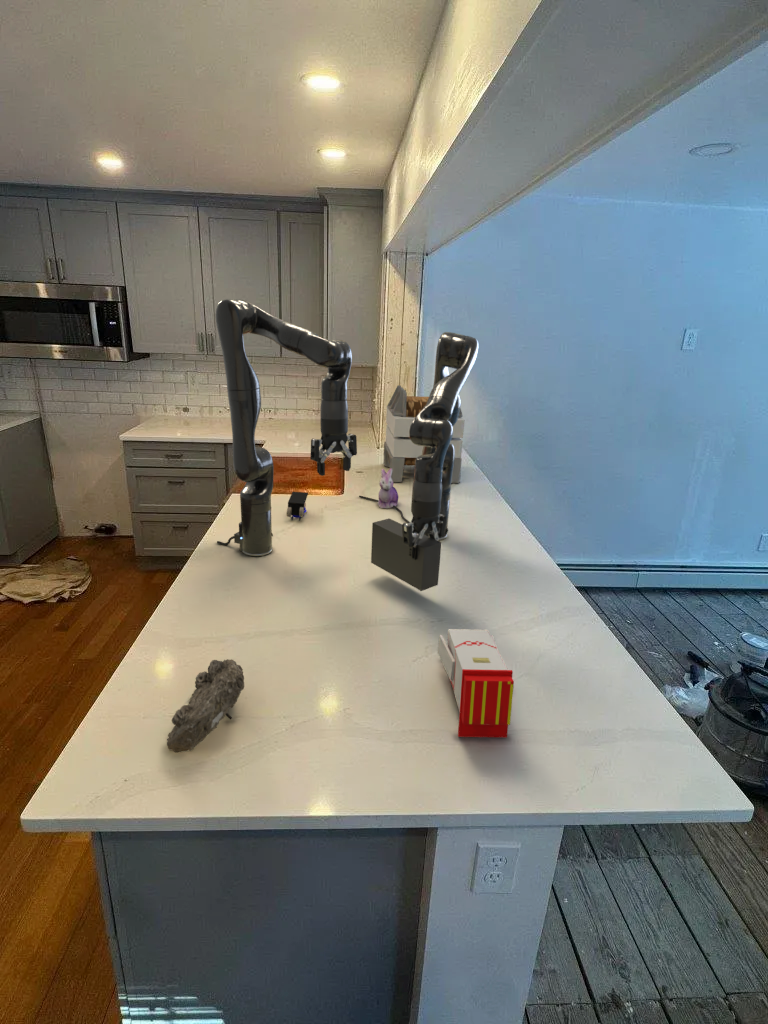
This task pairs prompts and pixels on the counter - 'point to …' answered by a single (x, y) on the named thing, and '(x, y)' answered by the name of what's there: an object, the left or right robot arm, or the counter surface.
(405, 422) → the transformer
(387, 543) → the box
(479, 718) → the toy
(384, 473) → the figurine
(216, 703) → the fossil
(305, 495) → the figurine character
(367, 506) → the counter surface
